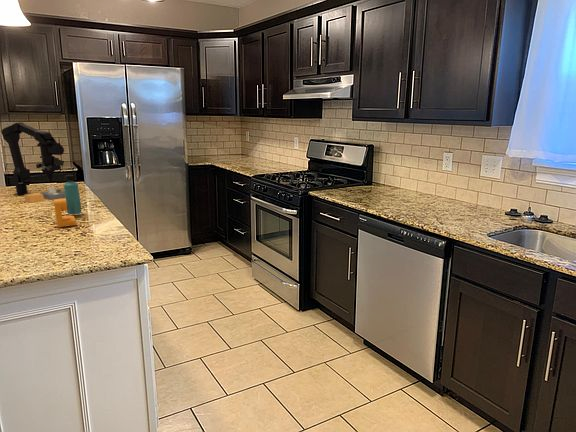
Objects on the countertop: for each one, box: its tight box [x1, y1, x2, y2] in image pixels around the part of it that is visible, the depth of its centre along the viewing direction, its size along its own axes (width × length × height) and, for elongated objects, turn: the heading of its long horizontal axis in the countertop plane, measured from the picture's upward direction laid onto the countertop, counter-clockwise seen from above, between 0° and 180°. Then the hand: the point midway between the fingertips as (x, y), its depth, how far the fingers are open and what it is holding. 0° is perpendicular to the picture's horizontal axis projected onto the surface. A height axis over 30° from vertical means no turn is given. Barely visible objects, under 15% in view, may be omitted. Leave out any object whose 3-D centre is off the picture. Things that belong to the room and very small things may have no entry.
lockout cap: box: [24, 192, 45, 204], centre depth 238 cm, size 7×7×4 cm
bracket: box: [53, 198, 77, 228], centre depth 189 cm, size 11×7×12 cm, turn 31°
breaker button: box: [46, 186, 57, 194], centre depth 247 cm, size 3×3×4 cm
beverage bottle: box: [63, 174, 82, 215], centre depth 204 cm, size 6×7×20 cm
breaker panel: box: [39, 188, 65, 201], centre depth 249 cm, size 14×12×3 cm
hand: (50, 181), depth 246 cm, fingers closed
